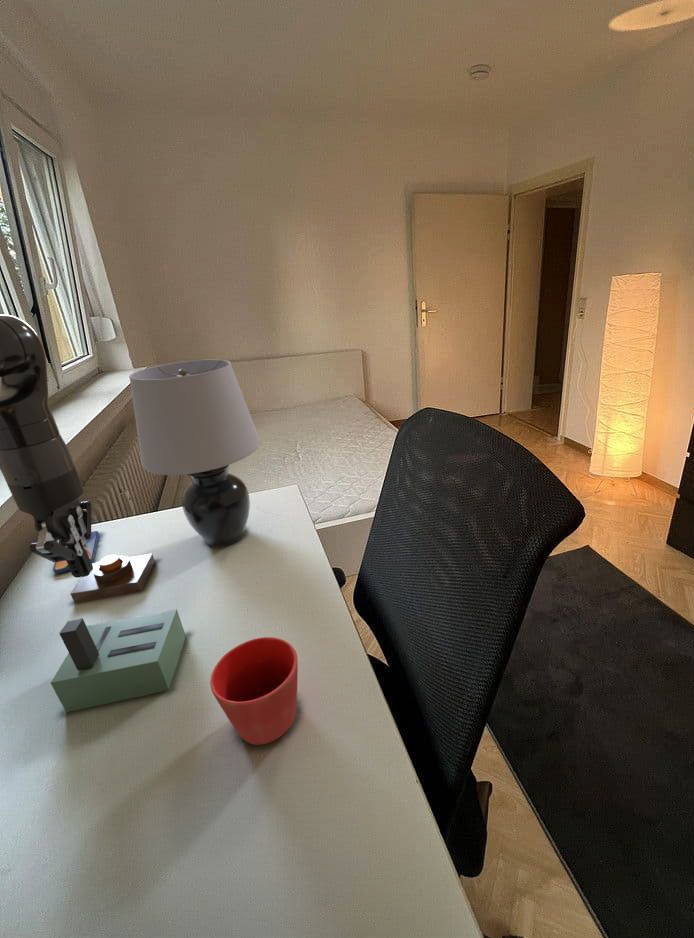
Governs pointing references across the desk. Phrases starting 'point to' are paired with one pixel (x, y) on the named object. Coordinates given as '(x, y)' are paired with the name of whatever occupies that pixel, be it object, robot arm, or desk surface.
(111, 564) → the round button
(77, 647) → the slide button
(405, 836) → the desk surface
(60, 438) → the robot arm
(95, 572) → the box
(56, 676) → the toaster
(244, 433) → the lamp
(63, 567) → the smartphone
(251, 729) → the flower pot
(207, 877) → the desk surface
